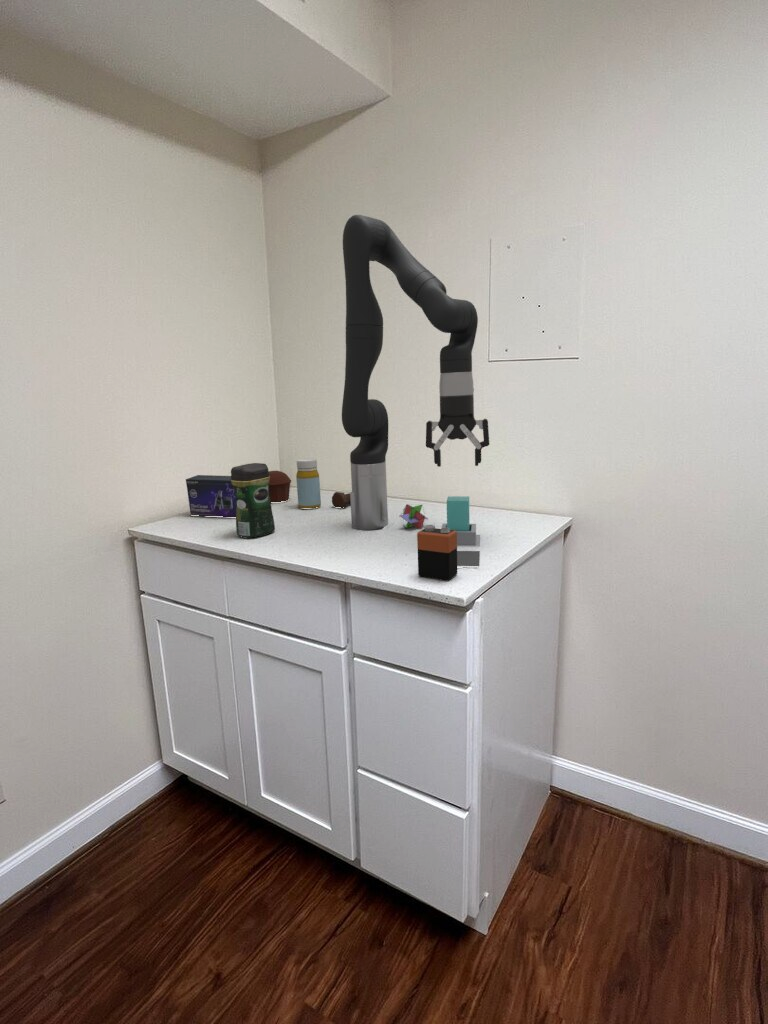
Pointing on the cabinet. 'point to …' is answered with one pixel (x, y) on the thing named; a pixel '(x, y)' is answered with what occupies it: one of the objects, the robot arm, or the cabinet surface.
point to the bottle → (308, 483)
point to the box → (211, 496)
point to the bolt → (340, 499)
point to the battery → (437, 552)
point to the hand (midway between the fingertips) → (457, 465)
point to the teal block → (458, 513)
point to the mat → (468, 558)
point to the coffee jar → (252, 500)
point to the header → (467, 537)
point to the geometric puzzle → (413, 516)
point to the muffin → (279, 486)
